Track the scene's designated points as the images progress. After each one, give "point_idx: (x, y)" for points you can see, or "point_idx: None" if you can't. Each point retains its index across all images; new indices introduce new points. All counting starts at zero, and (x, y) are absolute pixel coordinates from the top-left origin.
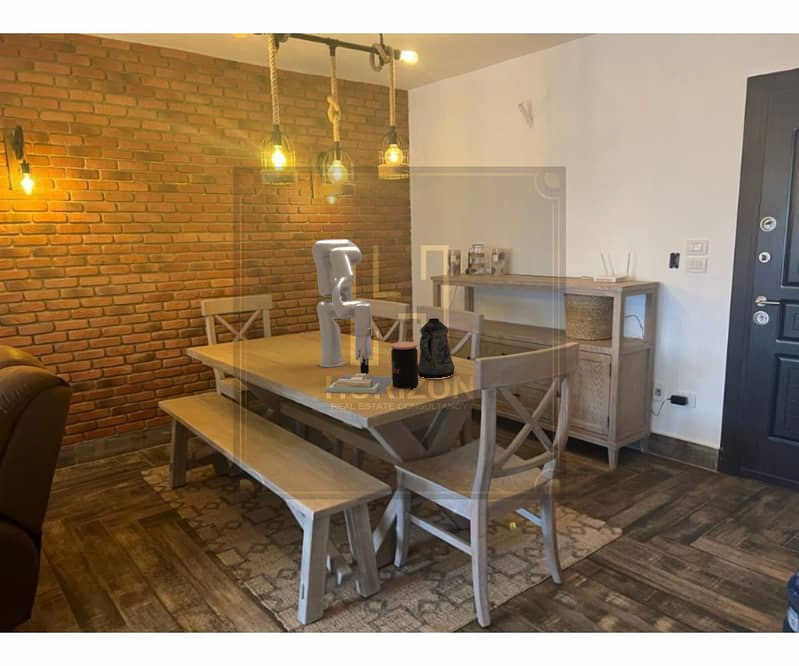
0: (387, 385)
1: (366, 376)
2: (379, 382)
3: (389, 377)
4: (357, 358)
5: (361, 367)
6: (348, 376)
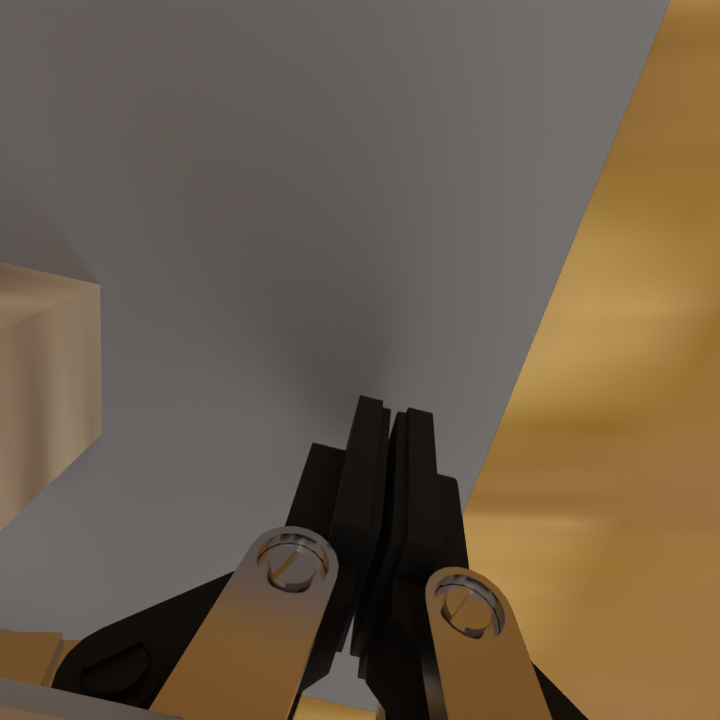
0: (16, 630)
1: (24, 497)
2: (132, 570)
3: (354, 670)
4: (91, 698)
5: (338, 488)
6: (560, 97)
